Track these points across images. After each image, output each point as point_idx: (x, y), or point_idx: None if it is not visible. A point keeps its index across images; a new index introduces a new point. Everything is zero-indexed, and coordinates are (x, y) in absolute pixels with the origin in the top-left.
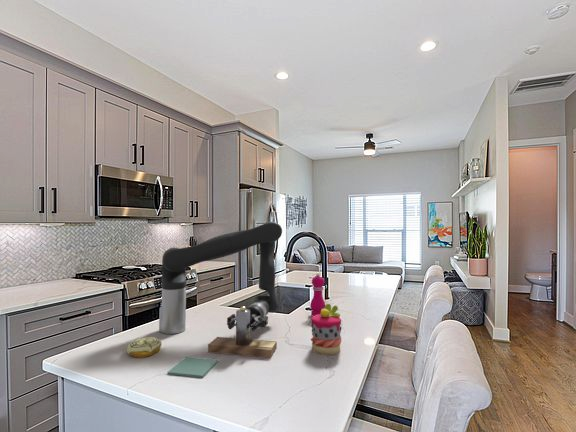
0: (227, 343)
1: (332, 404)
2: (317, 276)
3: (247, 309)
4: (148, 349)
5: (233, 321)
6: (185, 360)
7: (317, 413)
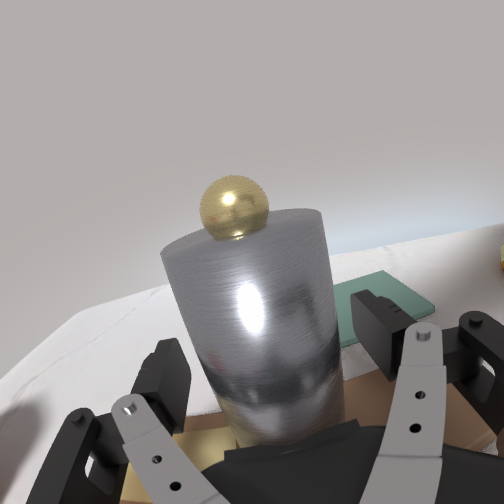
0: (379, 400)
1: (68, 330)
2: None
3: (203, 254)
4: (502, 251)
5: (379, 325)
6: (411, 299)
7: (92, 315)
